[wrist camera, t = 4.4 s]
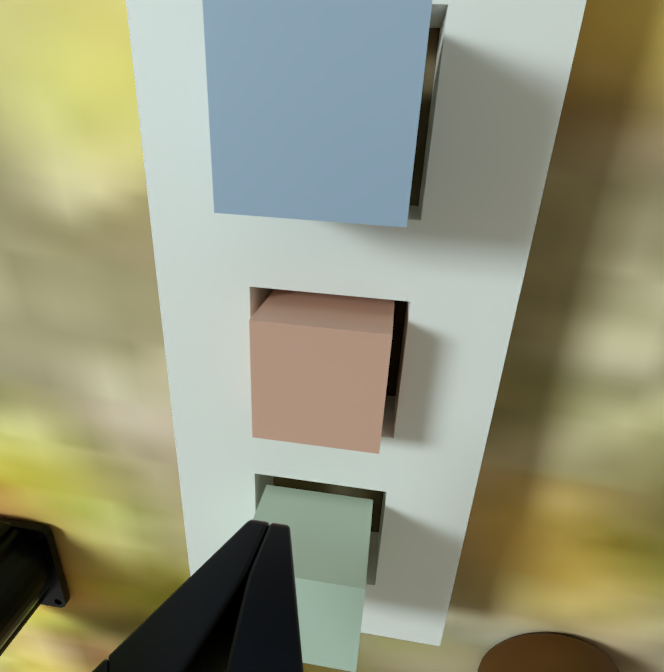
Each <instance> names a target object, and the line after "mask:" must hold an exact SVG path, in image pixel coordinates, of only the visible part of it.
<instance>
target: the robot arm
mask: <svg viewBox="0 0 664 672" xmlns="http://www.w3.org/2000/svg"><path fill="white" fill-rule="evenodd" d="M69 600H70V597H69V593H68V590H67V586H66V582H65V579H64V575H63V571H62V568H61V564H60V560H59V557H58V553H57V549H56V546H55V542H54V538H53V535H52V532H51V530H50V529H49V528H48V527H46V526H44V525H40V524H34V523H27V522H21V521H15V520H9V519H3V518H0V656H1V655H2V653H3V652H4V651H5V649H6V648H7V647H8V645H9V644H10V643H11V642H12V640H13V639H14V638H15V636H16V635H17V634H18V633H19V631H20V630H21V629H22V627H23V626H24V625H25V623H26V622H27V621H28V620H29V618H30V617H31V616H32V614H33V613H34V612H35V610H36V609H37V608H38V607H39V605H40V604H43V605H49V606H54V607H61V608H62V607H65V605H66V604H67V602H68V601H69ZM92 672H304V671H303V660H302V649H301V639H300V628H299V617H298V606H297V595H296V585H295V574H294V563H293V552H292V541H291V531H290V527H289V525H285V524H279V523H271V524H270V525H269V523H268V522H266V521H259V520H249V521H248V522H246V523H245V524H244V525H243V526H242V527H241V528H240V529H239V530H238V531H237V532H236V533H235V534H234V535H233V536H232V537H231V538H230V539H229V540H228V541H227V542H226V543H225V544H224V545H223V546H222V547H221V548H220V549H219V550H218V551H216V552H215V553H214V554H213V555H212V556H211V557H210V558H209V559H208V560H207V561H206V562H205V563H204V564H203V565H202V566H201V567H200V568H199V569H198V570H197V571H196V572H195V573H194V574H193V575H192V576H191V577H190V578H189V579H188V580H187V581H185V582H184V583H183V584H182V585H181V586H180V587H179V588H178V589H177V590H176V591H175V592H174V593H173V594H172V595H171V596H170V597H169V598H168V599H167V600H166V601H165V602H164V603H163V604H162V605H161V606H160V607H159V608H158V609H157V610H156V611H155V612H153V613H152V614H151V615H150V616H149V617H148V618H147V619H146V620H145V621H144V622H143V623H142V624H141V625H140V626H139V627H138V628H137V629H136V630H135V631H134V632H133V633H132V634H131V635H130V636H129V637H128V638H127V639H126V640H125V641H124V642H123V643H121V644H120V645H119V646H118V647H117V648H116V649H115V650H114V651H113V652H112V653H111V654H110V655H109V661H108V660H107V659H105V660H104V661H103V662H102V663H100V664H99V665H98V666H97V667H96V668H95V669H94V670H93V671H92Z"/></svg>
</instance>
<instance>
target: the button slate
mask: <svg viewBox="0 0 664 672" xmlns="http://www.w3.org/2000/svg"><path fill="white" fill-rule="evenodd" d="M202 2H203V20H204V38H205V56H206V74H207V92H208V110H209V128H210V146H211V164H212V182H213V200H214V213H222V214H235V215H249V216H262V217H275V218H288V219H301V220H314V221H328V222H341V223H354V224H367V225H380V226H393V227H406V228H407V220H408V211H409V202H410V193H411V185H412V176H413V167H414V158H415V149H416V141H417V132H418V123H419V114H420V106H421V97H422V88H423V79H424V70H425V62H426V53H427V44H428V35H429V26H430V18H431V9H432V0H202Z"/></svg>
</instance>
